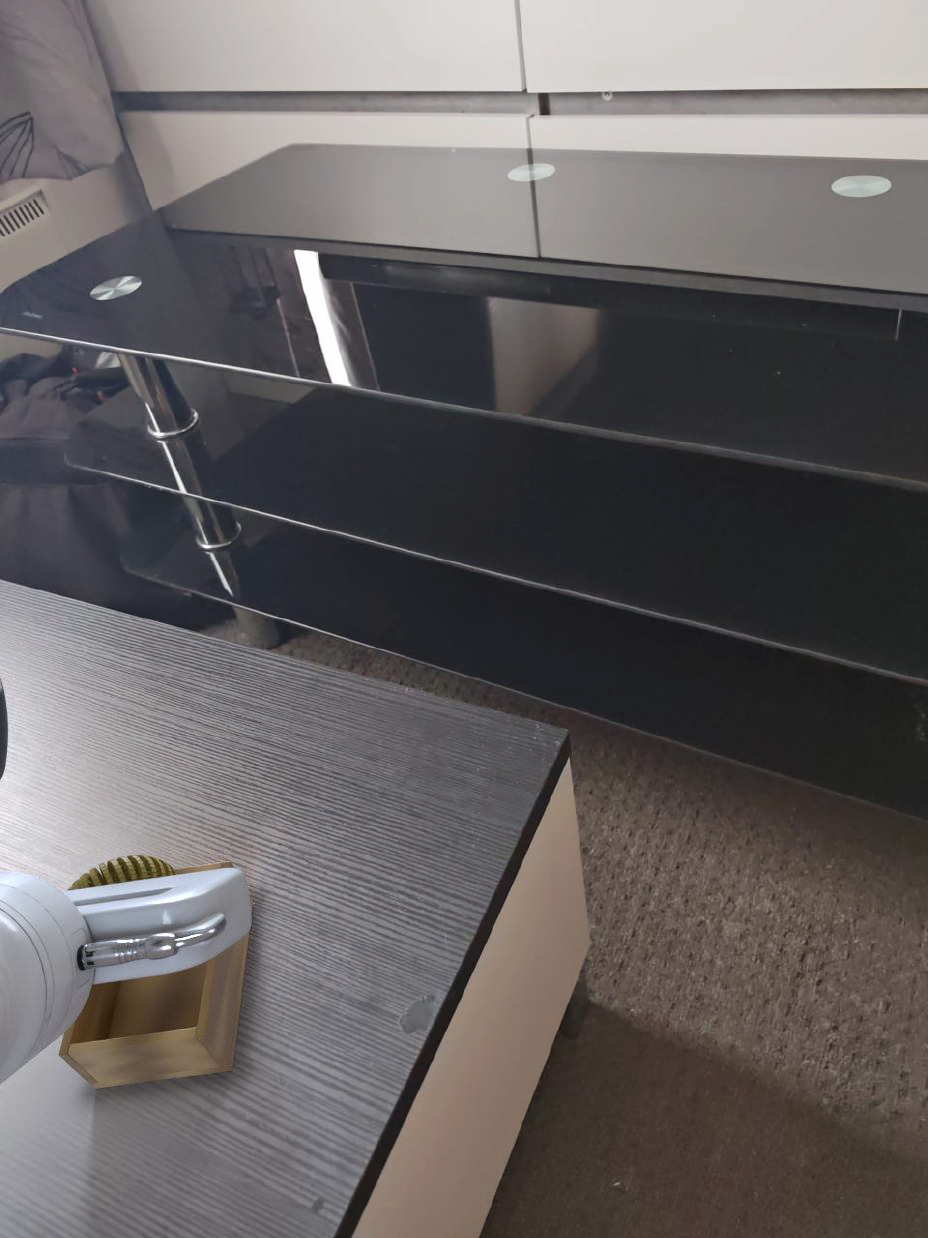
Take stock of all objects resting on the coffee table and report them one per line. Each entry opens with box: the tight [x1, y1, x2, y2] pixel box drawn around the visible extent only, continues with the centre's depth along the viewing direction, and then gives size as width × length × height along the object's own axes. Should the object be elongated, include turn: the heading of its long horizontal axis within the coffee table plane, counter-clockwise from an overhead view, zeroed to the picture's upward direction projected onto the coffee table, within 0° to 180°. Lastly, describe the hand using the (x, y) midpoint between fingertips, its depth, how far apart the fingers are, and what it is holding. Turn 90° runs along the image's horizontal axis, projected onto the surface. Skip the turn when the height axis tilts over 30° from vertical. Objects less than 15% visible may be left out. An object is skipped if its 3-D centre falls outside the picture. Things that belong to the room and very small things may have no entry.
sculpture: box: [66, 854, 179, 891], centre depth 57 cm, size 8×4×8 cm, turn 126°
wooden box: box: [58, 860, 254, 1090], centre depth 62 cm, size 9×12×5 cm
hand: (117, 898), depth 57 cm, fingers closed on sculpture, 7 cm apart
